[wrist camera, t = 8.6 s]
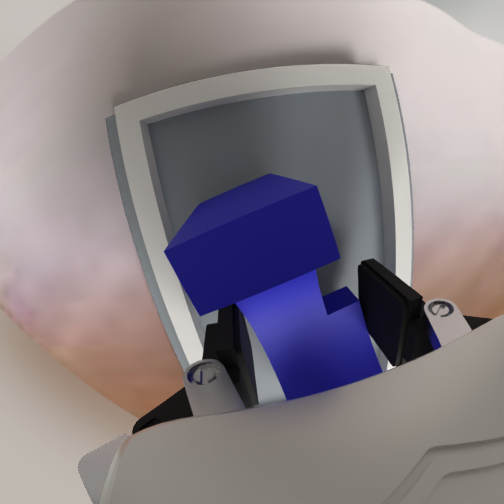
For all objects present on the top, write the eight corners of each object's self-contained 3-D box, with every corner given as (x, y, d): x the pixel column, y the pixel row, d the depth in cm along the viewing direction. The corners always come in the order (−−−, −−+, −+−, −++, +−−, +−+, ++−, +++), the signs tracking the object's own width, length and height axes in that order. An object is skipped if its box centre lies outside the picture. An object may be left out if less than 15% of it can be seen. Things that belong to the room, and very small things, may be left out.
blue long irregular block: (365, 367, 14) (409, 442, 8) (295, 396, 14) (318, 481, 9) (304, 159, 10) (383, 160, 5) (199, 203, 11) (163, 250, 5)
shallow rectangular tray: (382, 77, 11) (404, 68, 9) (392, 372, 17) (404, 390, 15) (113, 121, 11) (93, 115, 9) (212, 416, 17) (212, 439, 15)
